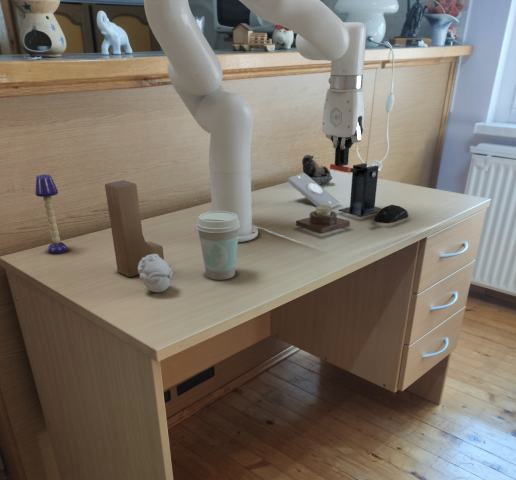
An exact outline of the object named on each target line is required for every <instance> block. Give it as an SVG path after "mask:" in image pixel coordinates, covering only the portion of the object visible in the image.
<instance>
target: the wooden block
mask: <svg viewBox="0 0 516 480" xmlns="http://www.w3.org/2000/svg"><path fill="white" fill-rule="evenodd" d="M104 188H105V190H104V191H105V196H106V201H107V208H108V209H107V210H108V215H109V223H110V229H111V237H112V242H113V249H114V256H115V264H116V268H117V269H116V270H117V272H118V273H120V274H122V275H124V276H126V277H128V278H131V277H135V276H138V275H140V274H139V272H138V265H139V262H140V260H142V258H143V257H145V256H147V255H151V254H158V255H159V257H160V258H162V259H163V260H164V261H165V255H164V247H163V245H161V244H158V243H155V242H153V241H146V240H145V237H144V234H143V227H142V217H141V210H140V209H141V208H140V203H139V201H140V200H139V196H138V195H139V193H138V187H137V183H135V182H132V181H131V182H130V181H128V180H118V181H112V182H108V183H105V184H104Z"/></svg>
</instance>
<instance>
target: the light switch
mask: <svg viewBox="0 0 516 480" xmlns="http://www.w3.org/2000/svg"><path fill="white" fill-rule="evenodd" d="M286 182H287V183H288V184H289V185H291V186H292V187H293V189H295V190H296V191H298V192H299V193H300V194H301V195H303V197H305V198H306V199H307V200H308V201H310V202H311V203H312V204H313V205H314V206H316V207H317V206H319V205H327V206H330V207H332V206H335V205H337V204H339V203H341V202H340V201H339V200H338V199H337V198H335V197H334V196H333V195H332V194H331V193H329V192H328V191H327V190H326V189H325V188H323V187H322V185H318V184H317V183H316V182H315V181H314V180H312V179H311V178H310V177H309V176H307V175H306V174H305V173H303V172H302V173H299V174H296V175H292V176H289V177H287V179H286Z"/></svg>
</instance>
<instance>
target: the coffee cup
mask: <svg viewBox="0 0 516 480" xmlns="http://www.w3.org/2000/svg"><path fill="white" fill-rule="evenodd" d="M195 226H196V228H197V229H198V232H199V234H198V237H199V243H200V248H201V253H202V258H203V259H202V260H203V263H204V264H203V265H204V270H205V276H206V277H207V278H208V279H210V280H217V281H220V280H221V281H222V280H223V281H224V280H229V279H231V278H233V277H234V276H236V265H237V253H238V243H239V242H238V230H239V227H240V222H239V220H238V217H237V215H236V214H235V213H232V212H226V211H213V212H212V211H207V212H203V213H201V214H199V215H198V219H197V222H196V225H195Z"/></svg>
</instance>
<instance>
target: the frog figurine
mask: <svg viewBox="0 0 516 480" xmlns="http://www.w3.org/2000/svg"><path fill="white" fill-rule="evenodd" d="M138 272H139V274H138V275H139V279H140V280H142V284H143V285H144V286H145V288H147V289H148V290H149V291H151V292H152V293H162V292H164V291H166V290H167V289H168V288H169V287H170V284H171V281H172V280H173V274H174V272H173V271H172V268H171V267H170V265H169V263H168V262H167V261H166V260H165V259H164V260H163V259H162V258H160V257H159V255H158V254H151V255H147V256H145V257H143V258H142V260H140V262H139V265H138Z"/></svg>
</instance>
